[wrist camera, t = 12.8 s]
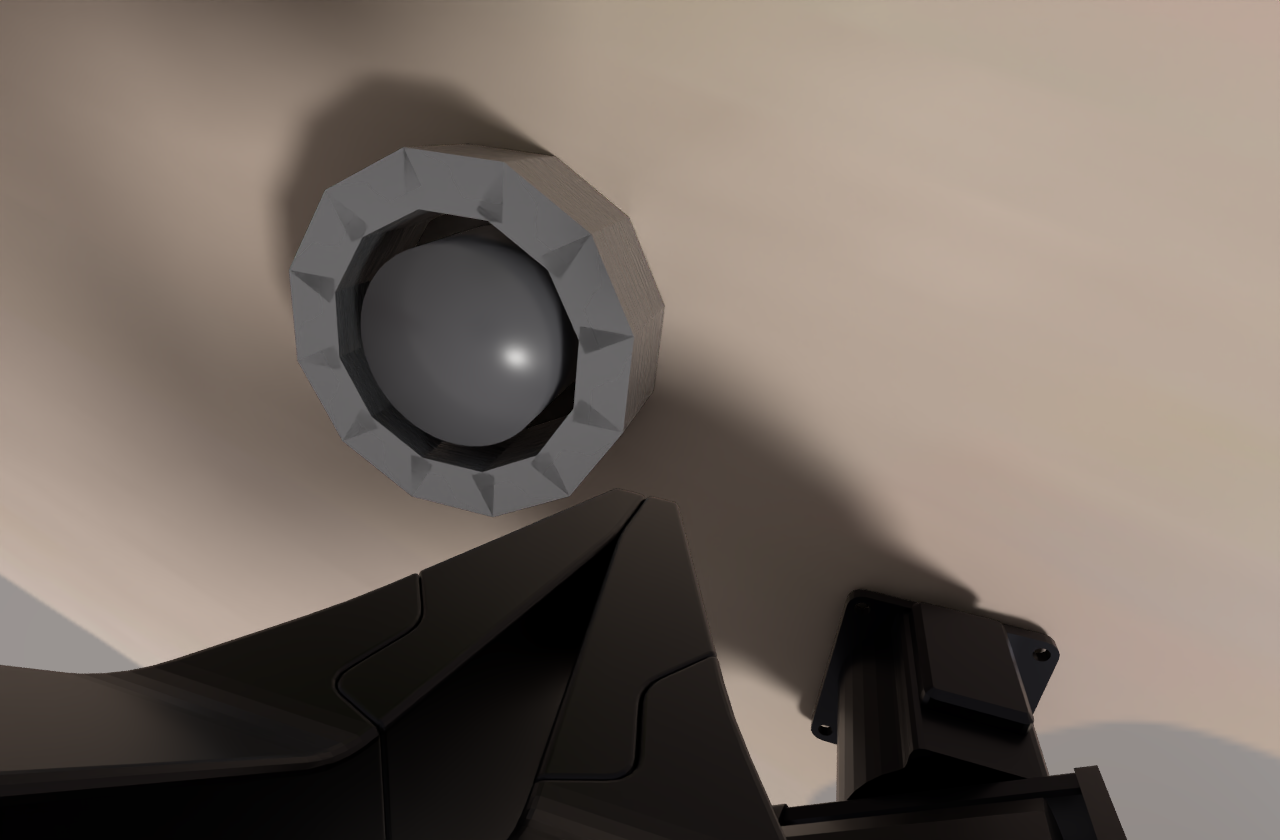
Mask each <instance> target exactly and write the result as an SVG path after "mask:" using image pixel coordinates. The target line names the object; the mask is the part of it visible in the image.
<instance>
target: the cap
mask: <svg viewBox="0 0 1280 840" xmlns="http://www.w3.org/2000/svg"><path fill="white" fill-rule="evenodd" d="M361 338H362V343H363V348H364V352H365V356H366V359H367V362H368V365H369V367H370V369H371V372H372V374H373V376H374V378H375V380H376V382H377V384H378V385H379V387H380V389H381V390H382V392H383V393H384V394H385V396H386V397H387V399H388V400H389V401H390V402H391V403H392V405H393V406H394V407H395V408H396V409H397V410H398V411H399V412H400V413H401V414H402V415H403V416H404V417H405V418H406V419H408V420H409V421H410V422H411V423H412V424H414V425H415V426H417V427H418V428H420V429H421V430H423V431H424V432H426V433H428V434H430V435H432V436H434V437H436V438H438V439H441V440H444V441H446V442H450V443H454V444H458V445H464V446H486V445H493V444H496V443H499V442H502V441H505V440H507V439H509V438H511V437H513V436H514V435H516V434H517V433H519V432H520V431H522V430H523V429H524V428H525V427H526V426H527V425H528V424H529V423H530V422H531V421H532V420H533V419H534V418H535V417H536V416H537V415H539V414H540V413H541V412H542V411H543V410H544V409H545V408H546V407H547V406H548V405H549V404H550V403H551V402H552V401H553V400H554V399H556V398H557V397H558V396H559V395H560V394H561V393H562V392H563V391H564V390H565V389H566V388H567V387H568V386H569V385H570V384H571V383H572V382H573V381H574V380H575V379H576V372H577V360H578V347H579V339H578V337H577V335H576V333H575V330H574V328H573V326H572V323H571V321H570V319H569V317H568V314H567V312H566V310H565V308H564V305H563V303H562V301H561V299H560V296H559V294H558V292H557V289H556V287H555V285H554V283H553V280H552V278H551V276H550V274H549V271H548V270H547V269H546V268H545V267H544V266H542V265H541V264H540V263H539V262H537V261H536V260H535V259H534V258H533V257H531V256H530V255H529V254H528V253H526V252H525V251H524V250H523V249H522V248H520V247H519V246H518V245H517V244H516V243H514V242H513V241H512V240H511V239H509V238H508V237H507V236H506V235H505V234H503V233H502V232H501V231H500V230H498V229H497V228H496V227H495V226H494V225H488V226H481V227H477V228H474V229H470V230H467V231H464V232H461V233H458V234H455V235H452V236H448V237H445V238H442V239H439V240H436V241H433V242H430V243H427V244H424V245H421V246H418V247H414V248H411V249H408V250H406V251H404V252H402V253H400V254H397V255H396V256H394V257H393V258H391V259H390V260H389V261H387V262H386V263H385V264H384V265H383V266H382V267H381V268H380V269H379V270H378V272H377V273H376V275H375V276H374V277H373V279H372V281H371V283H370V285H369V287H368V288H367V291H366V294H365V297H364V300H363V305H362V311H361Z"/></svg>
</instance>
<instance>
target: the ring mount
mask: <svg viewBox="0 0 1280 840" xmlns="http://www.w3.org/2000/svg"><path fill="white" fill-rule="evenodd" d="M444 214H451V215H457V216H463V217H469V218H475V219H481V220H486V221H489V222H490V223H491V224H492V225H494V226H495V227H496V228H497V229H498V230H500V231H501V232H502V233H503V234H505V235H506V236H507V237H508V238H509V239H511V240H512V241H513V242H514V243H516V244H517V245H518V246H519V247H520V248H522V249H523V250H524V251H525V252H526V253H528V254H529V255H530V256H531V257H533V258H534V259H535V260H536V261H537V262H539V263H540V264H541V265H542V266H544V267H545V268H546V269H547V270H548V271H549V274H550V276H551V278H552V280H553V283H554V285H555V287H556V289H557V292H558V294H559V296H560V299H561V301H562V303H563V305H564V308H565V310H566V312H567V314H568V317H569V319H570V321H571V323H572V326H573V328H574V330H575V333H576V335H577V337H578V339H579V347H578V360H577V372H576V385H575V397H574V409H573V410H572V411H571V412H570V414H569V415H567V416H564V417H561V418H558V419H554V420H551V421H548V422H545V423H542V424H539V425H536V426H533V427H530V428H526V427H525V428H524V429H523V430H522V431H520V432H519V433H517V434H516V435H514V436H513V437H511V438H509V439H507V440H505V441H502V442H499V443H496V444H493V445H486V446H464V445H458V444H454V443H450V442H446V441H444V440H441V439H438V438H436V437H434V436H432V435H430V434H428V433H426V432H424V431H423V430H421V429H420V428H418V427H417V426H415V425H414V424H412V423H411V422H410V421H409V420H408V419H406V418H405V417H404V416H403V415H402V414H401V413H400V412H399V411H398V410H397V409H396V408H395V407H394V406H393V405H392V403H391V402H390V401H389V400H388V399H387V397H386V396H385V394H384V393H383V392H382V390H381V389H380V387H379V385H378V384H377V382H376V380H375V378H374V376H373V374H372V372H371V369H370V367H369V365H368V362H367V359H366V356H365V352H364V348H363V343H362V338H361V311H362V305H363V300H364V297H365V294H366V291H367V288H368V287H369V285H370V283H371V281H372V279H373V277H374V276H375V275H376V273H377V272H378V270H379V269H380V268H381V267H382V266H383V265H384V264H385V263H386V262H387V261H389V260H390V259H391V258H393V257H394V256H396V255H397V254H400V253H402V252H404V251H406V250H408V249H411V248H414V247H416V245H417V243H418V241H419V239H420V238H421V236H422V234H423V232H424V230H425V228H426V227H427V225H428V223H429V221H431V220H433V219H435V218H437V217H439V216H441V215H444ZM289 275H290V286H291V297H292V307H293V318H294V328H295V339H296V350H297V360H298V362H299V364H300V366H301V368H302V369H303V371H304V373H305V375H306V377H307V378H308V380H309V382H310V384H311V386H312V387H313V389H314V391H315V393H316V394H317V396H318V398H319V400H320V402H321V403H322V405H323V407H324V409H325V411H326V412H327V414H328V416H329V418H330V419H331V421H332V423H333V425H334V427H335V428H336V430H337V432H338V434H339V435H340V437H341V439H342V441H343V442H345V443H346V444H347V445H348V446H350V447H351V448H352V449H353V450H355V451H356V452H357V453H358V454H360V455H361V456H362V457H363V458H365V459H366V460H367V461H368V462H370V463H371V464H372V465H373V466H375V467H376V468H377V469H378V470H380V471H381V472H382V473H383V474H385V475H386V476H387V477H388V478H390V479H391V480H392V481H393V482H395V483H396V484H397V485H398V486H400V487H401V488H402V489H403V490H405V491H406V492H407V493H408V494H410V495H411V496H413V497H416V498H420V499H424V500H428V501H432V502H436V503H440V504H444V505H448V506H452V507H456V508H460V509H463V510H467V511H471V512H475V513H479V514H483V515H487V516H491V517H495V516H498V515H502V514H506V513H510V512H513V511H517V510H521V509H524V508H528V507H532V506H535V505H539V504H543V503H546V502H550V501H554V500H557V499H561V498H565V497H568V496H570V495H571V494H572V493H573V491H574V490H575V489H576V488H577V487H578V485H579V484H580V483H581V482H582V481H583V480H584V478H585V477H586V476H587V475H588V474H589V472H590V471H591V470H592V469H593V468H594V467H595V465H596V464H597V463H598V462H599V461H600V459H601V458H602V457H603V456H604V455H605V453H606V452H607V451H608V450H609V449H610V448H611V446H612V445H613V444H614V443H615V442H616V440H617V439H618V438H619V437H620V436H621V435H622V433H623V432H624V431H625V429H626V428H627V427H628V425H629V424H630V422H631V421H632V420H633V418H634V417H635V416H636V414H637V413H638V411H639V410H640V409H641V407H642V406H643V404H644V403H645V402H646V400H647V399H648V398H649V396H650V395H651V393H652V392H653V391H654V383H655V376H656V368H657V360H658V353H659V345H660V338H661V330H662V322H663V315H664V307H665V306H664V303H663V301H662V298H661V296H660V293H659V291H658V288H657V286H656V283H655V281H654V278H653V276H652V273H651V271H650V268H649V266H648V263H647V261H646V258H645V256H644V253H643V251H642V248H641V246H640V243H639V241H638V238H637V236H636V233H635V231H634V228H633V226H632V223H631V221H630V218H629V217H628V216H627V215H625V214H624V213H623V212H622V211H621V210H619V209H618V208H617V207H616V206H615V205H613V204H612V203H611V202H610V201H608V200H607V199H606V198H605V197H604V196H602V195H601V194H600V193H599V192H598V191H596V190H595V189H594V188H593V187H592V186H590V185H589V184H588V183H587V182H586V181H584V180H583V179H582V178H581V177H580V176H578V175H577V174H576V173H575V172H574V171H572V170H571V169H570V168H569V167H568V166H566V165H565V164H564V163H563V162H562V161H560V160H559V159H558V158H557V157H555V156H550V155H543V154H536V153H529V152H522V151H515V150H508V149H501V148H494V147H487V146H481V145H474V144H453V145H433V146H414V147H403V148H401V149H399V150H397V151H395V152H394V153H392V154H390V155H388V156H386V157H384V158H383V159H381V160H379V161H377V162H375V163H374V164H372V165H370V166H368V167H366V168H364V169H363V170H361V171H359V172H357V173H355V174H353V175H352V176H350V177H348V178H346V179H344V180H343V181H341V182H339V183H337V184H335V185H333V186H332V187H330V188H328V189H326V190H325V191H324V194H323V196H322V198H321V200H320V202H319V205H318V207H317V209H316V211H315V213H314V216H313V218H312V220H311V222H310V225H309V227H308V229H307V231H306V233H305V236H304V238H303V240H302V242H301V244H300V247H299V249H298V251H297V253H296V256H295V258H294V260H293V262H292V264H291V267H290V269H289Z"/></svg>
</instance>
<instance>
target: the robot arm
mask: <svg viewBox="0 0 1280 840" xmlns="http://www.w3.org/2000/svg"><path fill="white" fill-rule="evenodd" d="M858 603H865V604H867V605H869V606H868V607H866V608H859V607H857V606H856V604H858ZM1039 648H1043V649H1046V651H1045V652H1042V653H1035V652H1034V651H1035V650H1036V649H1039ZM1059 655H1060V654H1059V651H1058V649H1057V646H1056V644H1055V641H1054V640H1053V639H1052V638H1051V637H1049V636H1047V635H1045V634H1041V633H1037V632H1033V631H1029V630H1025V629H1021V628H1017V627H1013V626H1009V625H1005V624H1001V623H1000V622H999V621H996V620H992V619H988V618H984V617H980V616H976V615H972V614H968V613H964V612H960V611H956V610H952V609H948V608H944V607H940V606H936V605H932V604H928V603H924V602H920V603H917V602H912V601H908V600H904V599H900V598H896V597H892V596H888V595H884V594H880V593H876V592H872V591H868V590H862V589H859V590H855V591H853V592H851V593H850V594H849V595H848V597H847V599H846V603H845V606H844V610H843V613H842V617H841V620H840V623H839V627H838V630H837V634H836V637H835V640H834V644H833V647H832V651H831V654H830V657H829V661H828V664H827V668H826V671H825V675H824V678H823V681H822V685H821V688H820V692H819V695H818V698H817V702H816V705H815V709H814V712H813V715H812V723H811V731H812V733H813V735H814V736H816V737H817V738H819V739H821V740H823V741H827V742H830V743H834V744H837V791H836V792H837V793H836V802H829V803H820V804H812V805H804V806H796V807H788V806H787V804H779V805H771V803H770V800H769V798H768V796H767V794H766V791H765V789H764V787H763V785H762V782H761V780H760V778H759V775H758V773H757V771H756V769H755V766H754V764H753V762H752V759H751V757H750V755H749V752H748V750H747V747H746V745H745V742H744V739H743V737H742V734H741V732H740V729H739V727H738V724H737V722H736V719H735V717H734V713H733V710H732V707H731V703H730V700H729V697H728V694H727V690H726V687H725V684H724V680H723V676H722V672H721V669H720V665H719V661H718V659H717V655H716V650H715V647H714V643H713V639H712V635H711V631H710V627H709V623H708V619H707V615H706V611H705V607H704V604H703V600H702V596H701V592H700V588H699V584H698V580H697V576H696V572H695V568H694V564H693V561H692V557H691V553H690V549H689V545H688V541H687V537H686V533H685V529H684V525H683V522H682V518H681V514H680V510H679V506H678V504H677V503H675V502H673V501H668V500H664V499H660V498H656V497H648V498H646V499H645V497H644V496H643V495H642V494H639V493H635V492H631V491H626V490H622V489H614V490H611V491H609V492H606V493H604V494H602V495H599V496H597V497H594V498H592V499H590V500H587V501H585V502H583V503H580V504H578V505H576V506H573V507H571V508H568V509H566V510H564V511H561V512H559V513H557V514H554V515H552V516H550V517H547V518H545V519H542V520H540V521H538V522H535V523H533V524H531V525H528V526H526V527H524V528H521V529H519V530H517V531H514V532H512V533H509V534H507V535H505V536H502V537H500V538H498V539H495V540H493V541H491V542H488V543H486V544H483V545H481V546H479V547H476V548H474V549H472V550H469V551H467V552H465V553H462V554H460V555H457V556H455V557H453V558H450V559H448V560H446V561H443V562H441V563H439V564H436V565H434V566H431V567H429V568H427V569H424V570H422V571H421V572H420V573H419V575H418V574H412V575H410V576H407V577H405V578H403V579H400V580H398V581H396V582H393V583H391V584H388V585H386V586H383V587H381V588H378V589H376V590H373V591H371V592H368V593H366V594H363V595H361V596H358V597H356V598H353V599H351V600H348V601H346V602H343V603H340V604H337V605H334V606H331V607H329V608H326V609H323V610H320V611H317V612H314V613H312V614H309V615H306V616H303V617H300V618H297V619H294V620H291V621H288V622H285V623H282V624H279V625H276V626H273V627H270V628H267V629H264V630H261V631H258V632H255V633H252V634H249V635H246V636H243V637H240V638H237V639H234V640H231V641H228V642H225V643H222V644H219V645H216V646H213V647H210V648H207V649H204V650H201V651H198V652H195V653H192V654H189V655H186V656H183V657H180V658H177V659H174V660H170V661H167V662H164V663H160V664H157V665H153V666H149V667H144V668H139V669H134V670H130V671H121V672H111V673H96V674H95V673H92V674H77V673H65V672H56V671H48V670H39V669H30V668H22V667H12V666H5V665H0V840H1127V838H1126V836H1125V833H1124V831H1123V828H1122V826H1121V823H1120V821H1119V819H1118V816H1117V813H1116V811H1115V808H1114V806H1113V803H1112V801H1111V798H1110V797H1109V793H1108V791H1107V788H1106V786H1105V783H1104V781H1103V779H1102V776H1101V773H1100V771H1099V768H1098V766H1097V765H1096V766H1088V767H1080V768H1074V771H1075V773H1070V774H1060V775H1053V776H1049V773H1048V770H1047V767H1046V763H1045V760H1044V757H1043V754H1042V750H1041V747H1040V744H1039V741H1038V737H1037V734H1036V731H1035V728H1034V725H1033V723H1034V717H1033V713H1034V711H1035V709H1036V707H1037V705H1038V703H1039V700H1040V698H1041V696H1042V694H1043V692H1044V690H1045V688H1046V686H1047V683H1048V681H1049V679H1050V677H1051V675H1052V673H1053V671H1054V669H1055V666H1056V664H1057V662H1058V660H1059ZM821 725H828V726H830V727H823V726H821Z"/></svg>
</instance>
